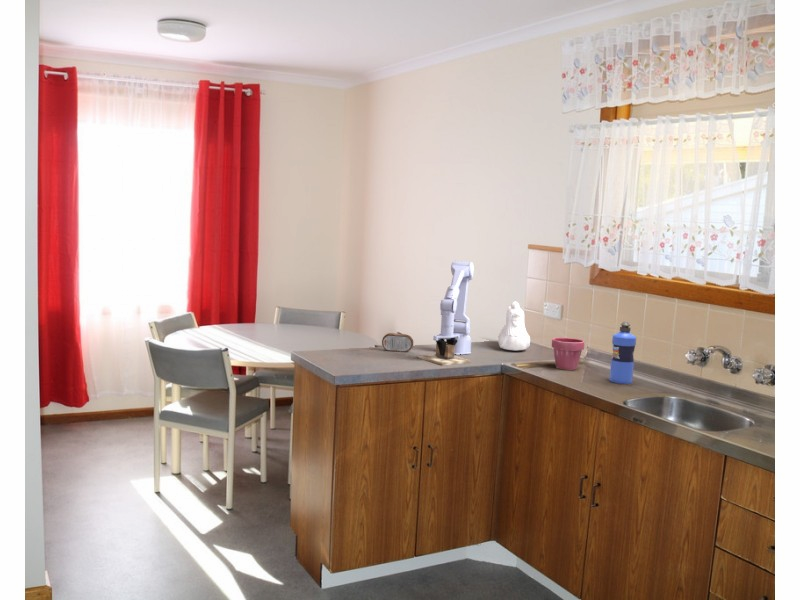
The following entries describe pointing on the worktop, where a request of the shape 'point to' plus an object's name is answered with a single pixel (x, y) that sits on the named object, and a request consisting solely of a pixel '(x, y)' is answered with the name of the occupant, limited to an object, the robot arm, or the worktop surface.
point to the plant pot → (567, 352)
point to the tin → (397, 342)
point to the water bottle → (623, 356)
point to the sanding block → (446, 351)
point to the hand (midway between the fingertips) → (445, 355)
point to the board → (444, 360)
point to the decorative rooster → (514, 330)
